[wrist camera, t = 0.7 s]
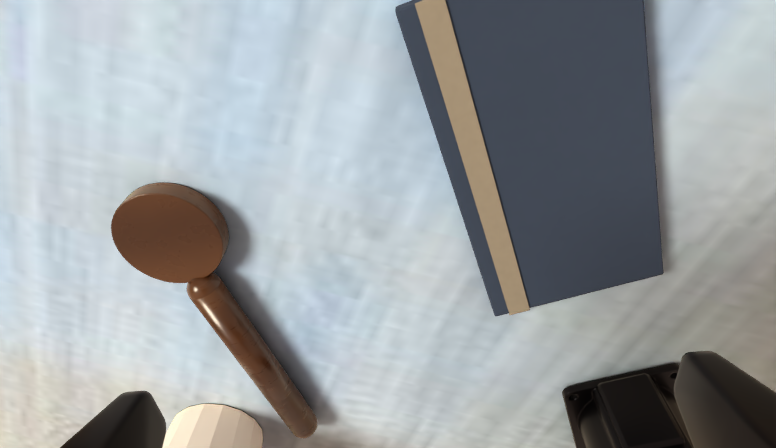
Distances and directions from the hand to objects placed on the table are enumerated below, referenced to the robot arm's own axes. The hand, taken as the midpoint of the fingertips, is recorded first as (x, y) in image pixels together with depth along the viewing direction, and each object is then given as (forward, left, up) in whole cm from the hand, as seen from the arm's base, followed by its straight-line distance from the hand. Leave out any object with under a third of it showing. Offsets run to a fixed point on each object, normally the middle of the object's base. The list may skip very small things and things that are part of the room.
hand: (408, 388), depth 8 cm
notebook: (-4, -5, -13) cm, 15 cm away
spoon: (-8, +11, -13) cm, 19 cm away
